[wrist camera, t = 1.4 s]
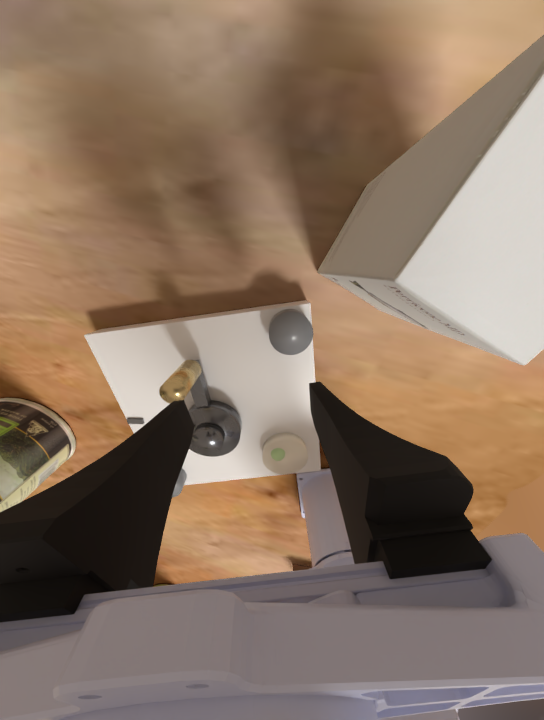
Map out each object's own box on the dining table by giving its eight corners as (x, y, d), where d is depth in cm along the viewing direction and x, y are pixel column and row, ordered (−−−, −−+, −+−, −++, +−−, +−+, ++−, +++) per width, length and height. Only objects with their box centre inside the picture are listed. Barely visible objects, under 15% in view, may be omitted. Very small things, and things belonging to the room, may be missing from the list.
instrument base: (317, 457, 27) (324, 485, 24) (168, 473, 28) (153, 502, 25) (306, 300, 20) (314, 306, 16) (100, 329, 20) (64, 341, 17)
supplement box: (314, 273, 19) (387, 278, 7) (367, 181, 16) (615, -41, 5) (378, 313, 20) (525, 372, 9) (436, 235, 18) (755, 170, 6)
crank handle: (246, 442, 23) (241, 484, 19) (193, 448, 24) (175, 491, 19) (224, 351, 19) (210, 377, 14) (160, 359, 19) (126, 387, 15)
